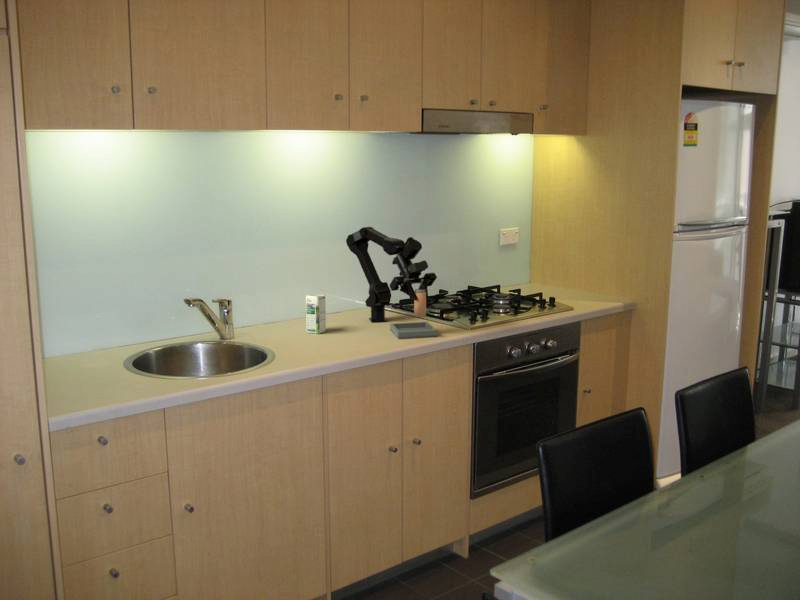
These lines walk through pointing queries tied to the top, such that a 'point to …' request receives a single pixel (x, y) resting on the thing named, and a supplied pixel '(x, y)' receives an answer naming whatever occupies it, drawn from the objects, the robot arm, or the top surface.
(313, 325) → the syrup box
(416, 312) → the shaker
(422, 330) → the tray
